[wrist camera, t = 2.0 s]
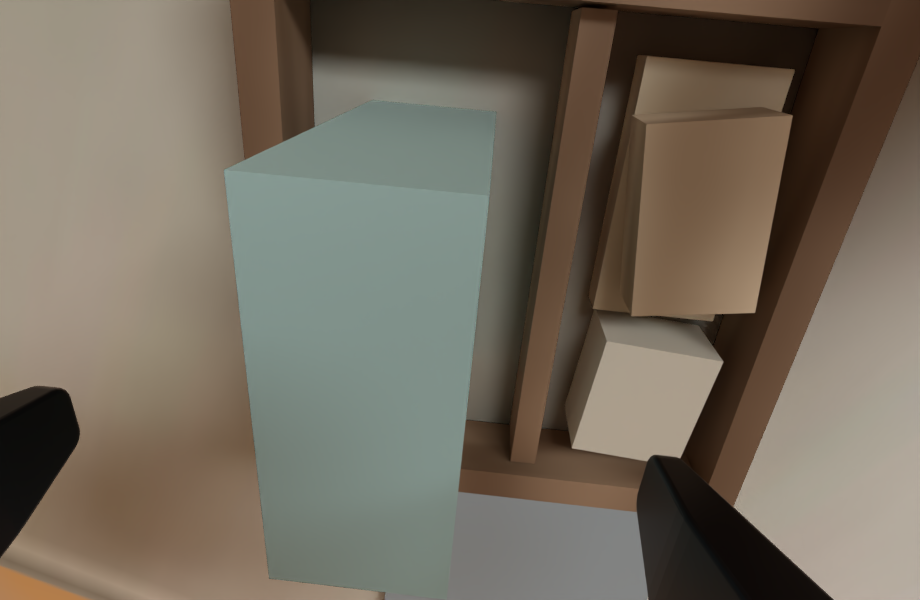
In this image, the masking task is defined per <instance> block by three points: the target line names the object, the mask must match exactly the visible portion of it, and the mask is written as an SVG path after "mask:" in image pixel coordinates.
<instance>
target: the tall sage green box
mask: <svg viewBox="0 0 920 600" xmlns="http://www.w3.org/2000/svg"><path fill="white" fill-rule="evenodd" d="M495 123H496V112H494V111H483V110H472V109H461V108H451V107H440V106H429V105H418V104H408V103H397V102H386V101H376V100H371V101H369V102H367V103H365V104H363V105H361V106H358V107H356V108H354V109H352V110H350V111H348V112H346V113H344V114H341V115H339V116H337V117H335V118H333V119H331V120H329V121H327V122H324V123H322V124H320V125H318V126H316V127H314V128H312V129H310V130H307V131H305V132H303V133H301V134H299V135H297V136H295V137H293V138H290V139H288V140H286V141H284V142H282V143H280V144H278V145H276V146H273V147H271V148H269V149H267V150H265V151H263V152H261V153H259V154H256V155H254V156H252V157H250V158H248V159H246V160H244V161H242V162H239V163H237V164H235V165H233V166H231V167H229V168H227V169H225V170H224V176H225V185H226V194H227V203H228V212H229V221H230V230H231V239H232V248H233V258H234V267H235V276H236V285H237V294H238V303H239V312H240V321H241V330H242V339H243V348H244V357H245V366H246V375H247V384H248V393H249V402H250V411H251V420H252V429H253V438H254V447H255V456H256V465H257V474H258V483H259V492H260V501H261V510H262V519H263V528H264V537H265V546H266V555H267V564H268V573H269V579H277V580H285V581H294V582H302V583H311V584H319V585H327V586H336V587H344V588H353V589H361V590H369V591H378V592H386V593H395V594H403V595H411V596H420V597H428V598H437V599H445V600H447V592H448V583H449V573H450V564H451V554H452V545H453V536H454V526H455V517H456V507H457V498H458V488H459V479H460V470H461V460H462V451H463V441H464V432H465V422H466V413H467V404H468V394H469V385H470V375H471V366H472V356H473V347H474V338H475V328H476V319H477V309H478V300H479V290H480V281H481V272H482V262H483V253H484V243H485V234H486V224H487V215H488V206H489V196H490V184H491V172H492V159H493V147H494V135H495Z"/></svg>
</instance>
